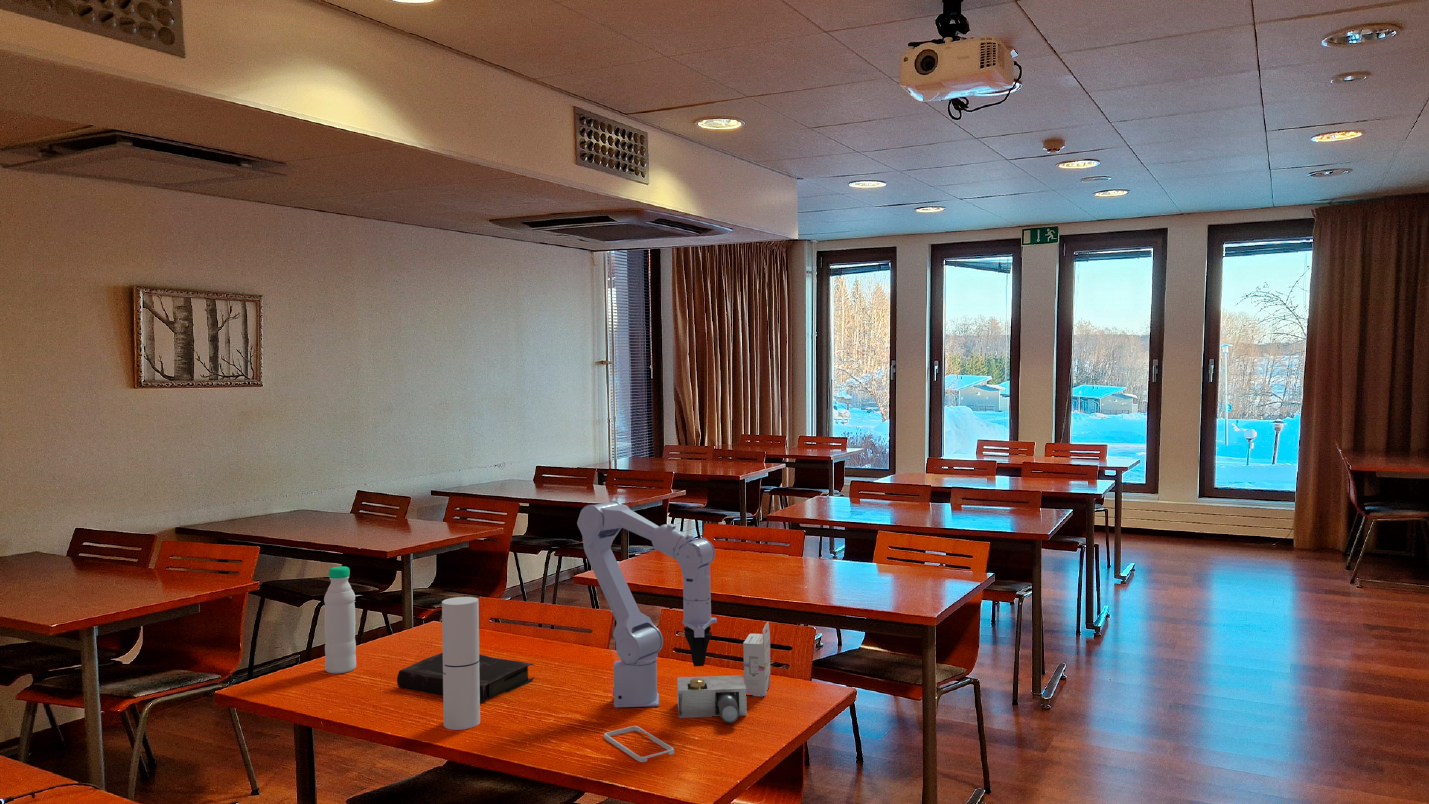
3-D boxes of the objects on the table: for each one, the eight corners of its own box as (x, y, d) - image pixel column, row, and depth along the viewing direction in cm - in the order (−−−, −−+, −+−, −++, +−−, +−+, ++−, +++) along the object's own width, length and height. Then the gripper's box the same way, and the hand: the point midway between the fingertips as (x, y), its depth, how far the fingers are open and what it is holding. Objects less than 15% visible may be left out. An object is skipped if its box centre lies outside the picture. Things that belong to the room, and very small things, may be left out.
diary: (482, 707, 202) (482, 684, 202) (396, 691, 213) (396, 669, 213) (536, 681, 218) (535, 660, 218) (454, 668, 230) (453, 648, 229)
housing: (678, 717, 192) (678, 690, 192) (677, 703, 201) (677, 677, 201) (746, 715, 193) (746, 688, 193) (742, 701, 202) (742, 675, 202)
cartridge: (720, 723, 186) (720, 704, 186) (716, 703, 198) (715, 685, 198) (739, 723, 186) (739, 704, 186) (733, 702, 199) (733, 684, 199)
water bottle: (362, 668, 228) (360, 566, 228) (337, 676, 222) (335, 571, 222) (344, 664, 232) (342, 563, 232) (318, 671, 226) (317, 568, 226)
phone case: (602, 740, 182) (640, 765, 169) (602, 733, 181) (640, 758, 169) (636, 731, 186) (675, 756, 173) (636, 725, 186) (675, 748, 173)
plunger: (690, 691, 193) (690, 683, 193) (689, 687, 196) (689, 678, 196) (704, 691, 193) (704, 682, 193) (704, 686, 196) (704, 678, 196)
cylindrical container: (460, 732, 185) (459, 606, 185) (436, 725, 189) (434, 602, 188) (487, 721, 191) (485, 599, 191) (462, 715, 195) (461, 595, 195)
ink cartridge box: (749, 684, 214) (748, 619, 213) (770, 685, 213) (770, 620, 213) (743, 696, 205) (742, 629, 205) (765, 697, 204) (764, 630, 204)
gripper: (718, 605, 187) (720, 672, 187) (713, 590, 202) (715, 653, 202) (683, 606, 187) (684, 674, 187) (681, 591, 201) (682, 654, 201)
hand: (698, 663), depth 194 cm, fingers open, 3 cm apart
